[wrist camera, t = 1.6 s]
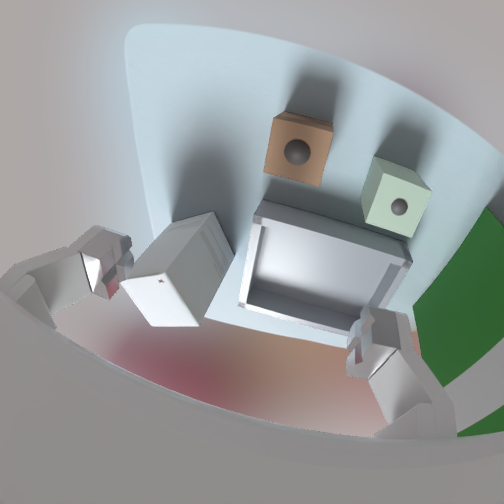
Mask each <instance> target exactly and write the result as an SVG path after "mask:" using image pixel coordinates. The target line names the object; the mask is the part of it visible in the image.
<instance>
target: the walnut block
mask: <svg viewBox="0 0 504 504" xmlns="http://www.w3.org/2000/svg"><path fill="white" fill-rule="evenodd" d="M333 133H334V132H333V123H329V122H326V121H322V120H318V119H315V118H311V117H307V116H303V115H298V114H294V113H290V112H285V111H284V112H282V113H281V114H279V115H277V116H276V117H274V118H273V122H272V128H271V133H270V139H269V144H268V150H267V155H266V160H265V166H264V171H263V172H264V173H268V174H272V175H276V176H280V177H284V178H288V179H292V180H296V181H299V182H303V183H307V184H310V185H314V186H317V187H319V185H320V182H321V178H322V175H323V171H324V167H325V163H326V160H327V156H328V152H329V148H330V145H331V141H332V137H333Z"/></svg>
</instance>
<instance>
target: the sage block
mask: <svg viewBox="0 0 504 504" xmlns="http://www.w3.org/2000/svg"><path fill="white" fill-rule="evenodd" d="M431 194H432V191H431V190H430V188H429V187H428V186H427V185H426V184H425V182H424V181H423V180H422V179H421V178H420V176H419V175H418V174H417V173H416V172H415V171H413V170H411V169H408V168H406V167H403V166H401V165H398V164H395V163H393V162H390V161H387V160H385V159H382V158H379V157H376V156H373V160H372V163H371V166H370V169H369V172H368V175H367V178H366V181H365V184H364V187H363V190H362V193H361V196H360V200H361V204H362V209H363V214H364V219H365V223H368V224H371V225H374V226H378V227H381V228H384V229H387V230H390V231H393V232H395V233H398V234H401V235H404V236H407V237H410V238H412V236H413V234H414V232H415V230H416V228H417V226H418V223H419V221H420V219H421V217H422V215H423V212H424V210H425V208H426V206H427V203H428V201H429V199H430V196H431Z"/></svg>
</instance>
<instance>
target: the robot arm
mask: <svg viewBox="0 0 504 504" xmlns="http://www.w3.org/2000/svg"><path fill="white" fill-rule="evenodd" d="M131 246H132V242H131V238H130V237H129V236H128V235H125V234H123V233H120V232H117V231H114V230H111V229H108V228H105V227H102V226H99V225H95V226H93V227H91V228H90V229H89V230H88V231H87V232H86V233H84V234H83V235H82V236H81V237H79V238H78V239H77V240H76V241H75V242H74V243H73V244H71V245H70V246H69V247H68V248H67V247H63V248H60V249H56V250H54V251H50V252H48V253H45V254H42V255H39V256H36V257H33V258H30V259H28V260H25V261H22V262H19V263H17V264H14V266H13V267H11V268H10V269H9V270H8V271H7V272H6V273H5V274H4V275H3V276H2V277H1V278H0V504H504V431H502V432H496V433H490V434H483V435H476V436H467V437H457V428H456V418H455V409H454V403H453V402H452V400H451V399H450V397H449V396H448V394H447V393H446V391H445V390H444V388H443V387H442V386H441V384H440V383H439V381H438V380H437V378H436V377H435V376H434V374H433V373H432V371H431V370H430V369H429V367H428V366H427V364H426V363H425V362H424V360H423V359H422V358H421V356H420V355H419V353H415V350H414V345H413V339H412V334H411V328H410V323H409V319H408V316H407V314H405V313H400V312H396V311H391V310H387V309H383V308H379V307H375V306H371V305H366V306H364V307H363V309H362V311H361V312H360V317H361V319H359V320H356V321H355V322H354V323H353V325H352V327H351V329H350V332H349V335H348V339H347V349H348V350H349V352H350V355H349V356H348V357H347V363H346V375H347V376H352V377H357V378H362V379H366V380H369V381H368V382H369V384H370V386H371V388H372V390H373V392H374V395H375V397H376V399H377V401H378V403H379V405H380V408H381V410H382V412H383V414H384V416H385V419H386V421H387V423H388V425H387V426H385V427H384V428H382V429H381V430H379V431H378V432H376V433H375V434H374V438H371V437H359V436H350V435H341V434H333V433H326V432H320V431H314V430H308V429H303V428H297V427H292V426H287V425H283V424H278V423H274V422H270V421H266V420H261V419H258V418H254V417H250V416H246V415H243V414H239V413H236V412H232V411H229V410H226V409H222V408H219V407H216V406H213V405H210V404H207V403H204V402H201V401H199V400H196V399H193V398H190V397H187V396H185V395H182V394H179V393H177V392H175V391H172V390H170V389H167V388H165V387H162V386H160V385H157V384H155V383H153V382H150V381H148V380H146V379H144V378H142V377H139V376H137V375H135V374H133V373H131V372H129V371H127V370H124V369H123V368H121V367H119V366H117V365H115V364H113V363H111V362H109V361H107V360H105V359H103V358H101V357H99V356H97V355H96V354H94V353H92V352H90V351H89V350H87V349H85V348H83V347H82V346H80V345H78V344H77V343H75V342H73V341H72V340H70V339H68V338H67V337H65V336H63V335H62V334H60V333H59V332H57V331H56V330H55V329H56V327H57V326H56V322H55V321H54V319H53V317H52V315H53V314H55V313H57V312H59V311H60V310H62V309H64V308H66V307H68V306H70V305H72V304H73V303H75V302H77V301H79V300H81V299H83V298H84V297H87V296H88V295H90V294H91V292H92V293H94V294H96V295H99V296H101V297H103V298H106V299H108V300H110V299H111V298H112V296H113V295H114V294H115V293H116V292H117V290H118V289H119V283H120V282H122V281H125V280H127V278H128V277H129V276H130V274H131V272H132V269H133V265H134V258H133V255H132V253H131V251H130V250H129V249H130V248H131Z"/></svg>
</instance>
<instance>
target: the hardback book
mask: <svg viewBox="0 0 504 504" xmlns="http://www.w3.org/2000/svg"><path fill="white" fill-rule="evenodd" d="M413 311H414V316H415V321H416V326H417V331H418V337H419V343H420V349H421V356H422V359H423V360H424V362H425V363H426V364H427V366H428V367H429V369H430V370H431V371H432V373H433V374H434V376H435V377H436V378H437V380H438V381H439V383H440V384H441V386H442V387H443V388H444V390H445V391H446V393H447V394H448V396H449V397H450V399H451V400H452V402H453V403H454V409H455V418H456V428H457V437H467V436H476V435H483V434H490V433H496V432H502V431H504V226H503V225H502V224H501V223H500V221H499V220H498V219H497V218H496V217H495V216H494V215H493V213H492V212H491V211H490V210H489V209H487V208H486V207H485V209H484V210H483V212H482V214H481V215H480V217H479V218H478V220H477V222H476V223H475V225H474V226H473V228H472V229H471V231H470V232H469V234H468V235H467V237H466V238H465V240H464V241H463V243H462V244H461V246H460V247H459V249H458V250H457V251H456V253H455V254H454V256H453V257H452V258H451V260H450V261H449V262H448V264H447V265H446V266H445V268H444V269H443V270H442V272H441V273H440V274H439V275H438V277H437V278H436V279H435V280H434V282H433V283H432V284H431V285H430V287H429V288H428V289H427V290H426V291H425V293H424V294H423V295H422V296H421V297H420V299H419V300H418V301H417V302H416V303H415V304H414V305H413Z"/></svg>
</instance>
